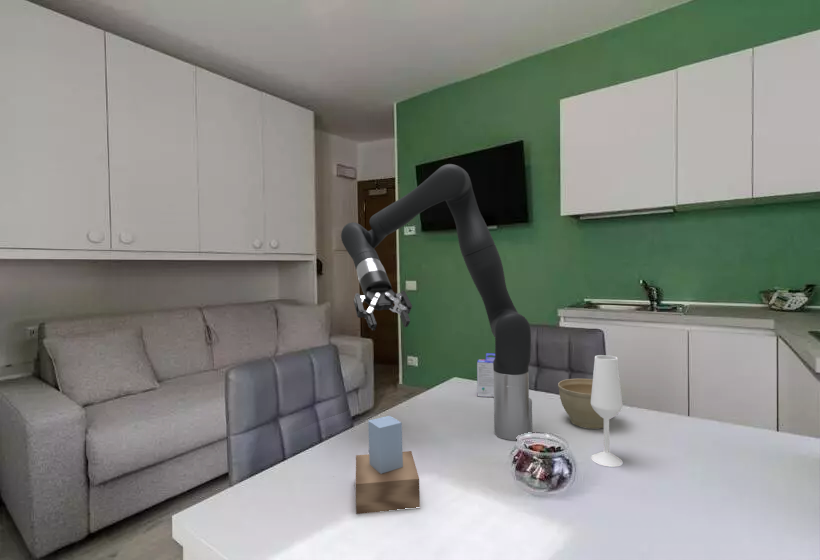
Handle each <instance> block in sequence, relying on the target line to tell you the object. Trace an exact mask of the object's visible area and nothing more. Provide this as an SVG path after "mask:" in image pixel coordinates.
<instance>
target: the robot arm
mask: <svg viewBox="0 0 820 560" xmlns="http://www.w3.org/2000/svg"><path fill="white" fill-rule="evenodd" d="M469 175H470V174H469V173H468V172H467V171H466V170H465V169H464V168H463V167H461V166H460V165H456V164H452V163H448V164H447V163H446V164H444V165H442V166H440V167H439V168H437V169H436V170H435V171H434V172H433V173H432V174H430V175H429V176H428V178H426V179H425V180H424V181H422V183H420V184H419V185H417V187H415V188H413V190H412V191H409V192H408V193H407V194H406V195H405V194H404V196H402V197H400V198H399V199H397V200H396V201H394V202H392V203H391V204H389V205H388V206H385V207H384V208H382V209H380V210H379V211H377V212H376V213H375V214H373V215H372V216H371V217H370V218H369V227H370V230H367V229H366V228H365V227H364V226H362V225H361V223H360V224H359V223H358V222H354V221H353V222H348V223H347V224H345V225H344V227H343V228H342V230H341V234H340V236H341V237H340V238H341V243H342V244H343V247H344V249H345V250H346V252H347V253H348V254H349V257H350V258H351V259H352V261H353V264H354V267H355V270H356V273H357V279H358V282H359V285H360V288H361V291H362V292H363V295H361V294H360V293H358V292H357V293H355V295H354V298H353V305H354V308H355V312H356V317H357V319H358V318H359V319H361V318H364V319H365V320H366V323H367V326H368V328H369V329H371V331H375V330H377V327H378V326H377V325H378V324H377V321H376V318H375V315H374V311H375V310H377V312H379V311H383V310H385V311H389V310H390V311H391V312H392V313H397V314H398V315H399V318H400V320H401V322H402V325H403V327H404V328H408V327H409V324H410V322H411V318H410V315H409V314H410V313H411V310H412V308H413V305H412V303H411V301H410V299H409V297H408V295H407V293H406V291H405V290H401V291H400V292H398V293H397V292H394V291H393V287H392V284H391V282H390V279H389V277H388V274H387V272H386V269H385V267H384V265H383V264H382V262H381V260H380V258H379V257H380V256H379V255H378V253H377V251H376V249H375V248H376V247H378V246H379V245H380V244H381V242H382V241H384V239H385V238H386V237H387V236H388V235H390V234H392V233H394V232H396V231H398V230H399V229H401V228H403V227H404V226H405V225H407V224H408V223H410V222H411V221H412V220H413V219H414V218H416V217H418V215H419V214H421V213H422V212H424V211H425V210H427V209H429V208H432V207H433V206H436V205H437V204H440V203H442V202H446V204H447V207H448V208H449V211H450V213H451V215H452V217H453V220H454V224H455V228H456V233H457V234H456V235H457V241H458V246H459V250H460V253H461V256H462V258H463V261H464V264H465V265H466V266H465V267H466V269H467V270H468V274H469V275H470V277H471V280H472V282H473V284H474V285H475V288H476V290H477V291H478V293H479V295H480V297H481V299H482V302H483V306H484V308H485V313H486V314H487V318H488V322H489V326H490V330H491V333H492V335H493V337H494V339H495V341H494V342H495V345H494V350H495V351H494V353H495V356H494V357H495V359H494V361H493V372H494V397H493V422H494V423H493V428H494V429H493V430H494V431H493V433H494V435H495V436H497V437H499V438H501V439H504V440H508V441H517V440H516V437H517V436H518V435H521V434H524V433H528V432H532V433H533V400H532V398H531V397H530V384H529V380H530V378H529V371H530V370H529V369H530V368H529V365H530V363H531V354H532V353H531V352H532V350H531V346H532V335H531V332H532V331H531V326H530V323H529V321H528V319H527V318H526V317H525V316H523V315H522V314H520V313H519V312H518V310H517V308H516V307H515V305H514V303H513V300H512V299H511V296H510V294H509V291H508V288H507V283H506V279H505V278H506V277H505V272H504V267H503V262H502V259H501V256H500V254H499V251H498V248H497V246H496V243H495V241H494V239H493V236H492V233H491V232H490V230H489V227H488V226H487V223H486V222H485V219H484V217H483V215H482V214H481V211H480V209H479V206H478V203H477V199H476V196H475V193H474V189H473V184H472V181H471V177H470V176H469ZM363 303H366V304H367V305H368V308H367V309H365V308H364V305H363ZM393 304H394V305H393Z"/></svg>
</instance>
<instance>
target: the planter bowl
mask: <svg viewBox="0 0 820 560" xmlns="http://www.w3.org/2000/svg"><path fill="white" fill-rule="evenodd" d="M592 382H593V378H568V379H567V378H566V379H563V380H561V381H559V382H558V385H557V387H558V391H559V392H558V393H559V399H560V402H561V405H562V406H563V409H564V411H565V412H566V414H567V416H568V417H569V418H570V422H571V423H572V424H573V425H575V426H577V427H580V428H584V429H595V430H596V429H604V418H602V417H601V416H600V415H598V414H597V413H596V412H595V410H594V409H593V408H592V406H591V393H592Z"/></svg>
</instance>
